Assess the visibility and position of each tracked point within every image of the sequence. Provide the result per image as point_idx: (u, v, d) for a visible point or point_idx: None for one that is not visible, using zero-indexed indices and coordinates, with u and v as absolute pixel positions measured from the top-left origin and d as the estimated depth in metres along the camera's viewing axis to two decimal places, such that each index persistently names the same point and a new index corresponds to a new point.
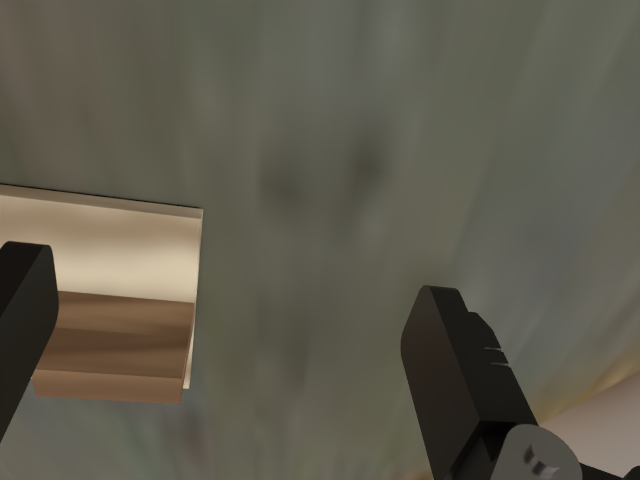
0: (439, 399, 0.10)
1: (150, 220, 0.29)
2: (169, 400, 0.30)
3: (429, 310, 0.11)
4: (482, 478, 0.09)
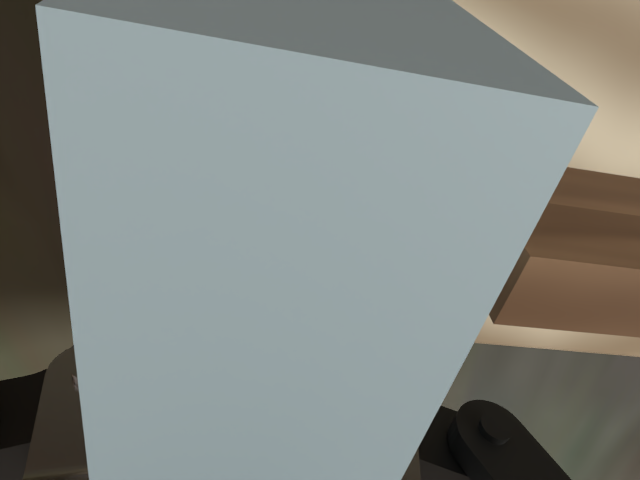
0: None
1: None
2: None
3: None
4: None
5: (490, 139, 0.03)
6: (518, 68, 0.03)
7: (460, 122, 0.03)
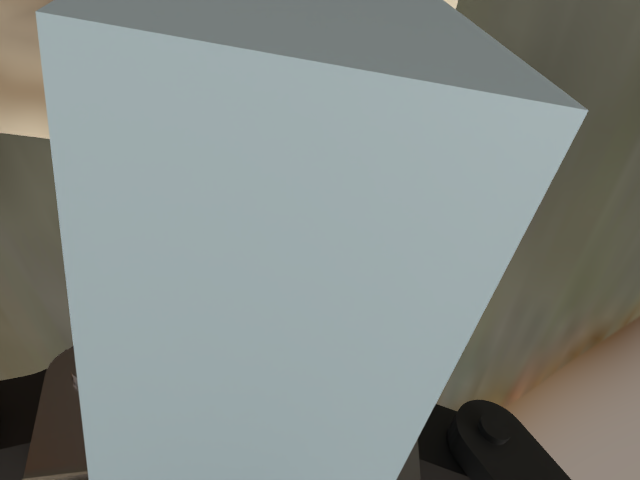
0: None
1: None
2: None
3: None
4: None
5: (484, 142, 0.03)
6: (510, 71, 0.03)
7: (452, 125, 0.03)
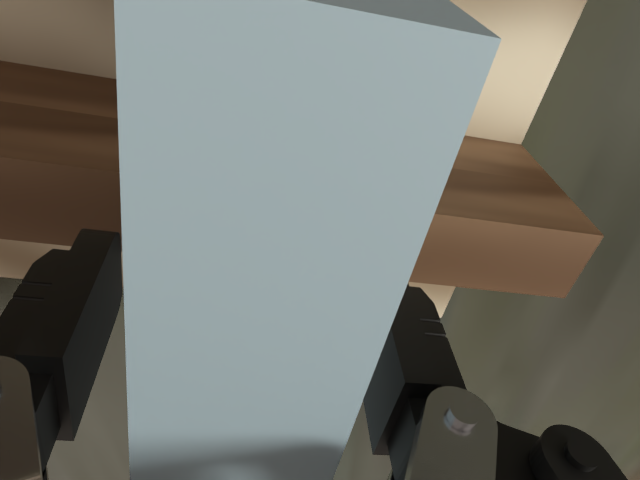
0: (377, 368, 0.10)
1: None
2: (551, 288, 0.16)
3: None
4: (408, 439, 0.09)
5: (426, 62, 0.04)
6: (450, 16, 0.05)
7: (403, 49, 0.04)
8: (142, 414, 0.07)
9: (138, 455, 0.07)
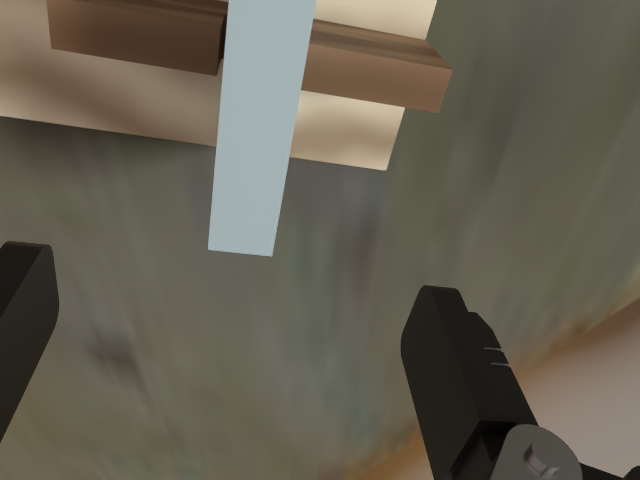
0: (439, 399, 0.10)
1: None
2: (429, 106, 0.28)
3: (429, 310, 0.11)
4: (482, 478, 0.09)
5: None
6: None
7: None
8: (228, 61, 0.19)
9: (225, 86, 0.19)
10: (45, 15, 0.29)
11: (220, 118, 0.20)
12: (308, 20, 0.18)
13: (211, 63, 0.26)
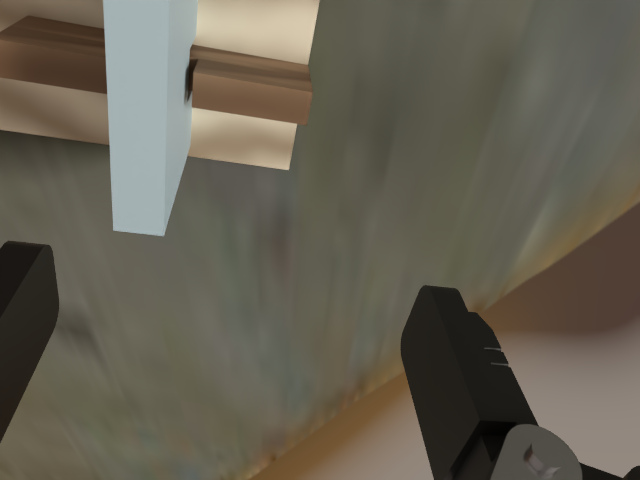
0: (439, 399, 0.10)
1: None
2: (298, 120, 0.36)
3: (429, 310, 0.11)
4: (482, 478, 0.09)
5: (157, 0, 0.24)
6: None
7: None
8: (111, 93, 0.27)
9: (110, 110, 0.27)
10: None
11: (110, 133, 0.28)
12: (164, 65, 0.26)
13: None
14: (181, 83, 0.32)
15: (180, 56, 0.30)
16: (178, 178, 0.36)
